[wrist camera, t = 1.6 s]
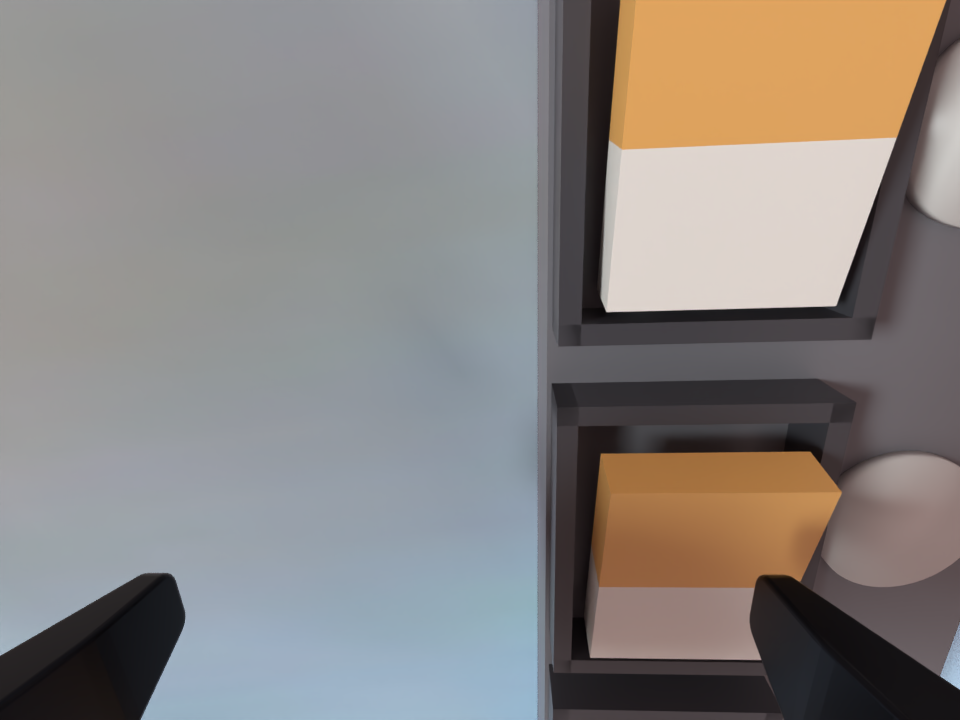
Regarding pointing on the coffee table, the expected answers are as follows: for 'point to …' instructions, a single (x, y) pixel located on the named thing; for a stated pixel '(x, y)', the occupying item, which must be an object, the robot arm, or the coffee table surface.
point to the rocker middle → (696, 547)
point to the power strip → (750, 390)
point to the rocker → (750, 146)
